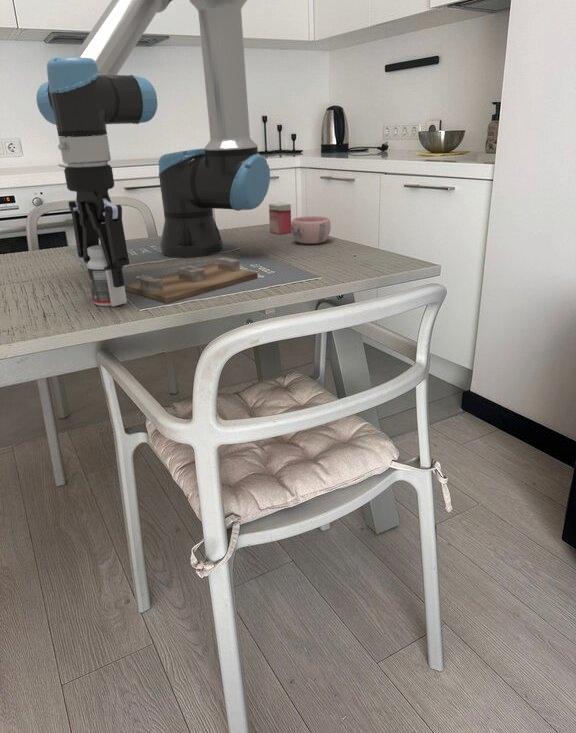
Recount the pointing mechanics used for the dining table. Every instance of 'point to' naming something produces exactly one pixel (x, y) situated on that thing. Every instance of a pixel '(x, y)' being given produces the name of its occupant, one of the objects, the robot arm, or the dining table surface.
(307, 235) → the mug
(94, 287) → the pill bottle
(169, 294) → the board
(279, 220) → the small box
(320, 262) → the dining table surface
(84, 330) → the dining table surface
